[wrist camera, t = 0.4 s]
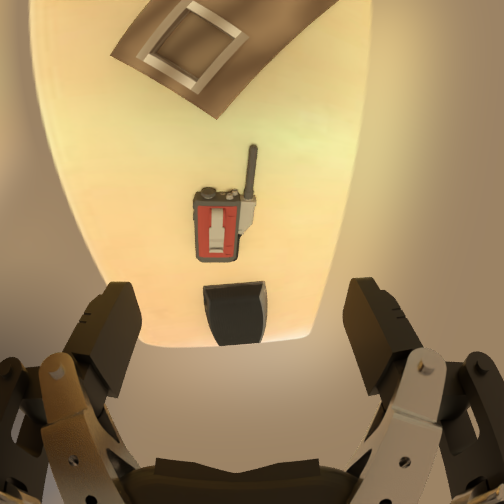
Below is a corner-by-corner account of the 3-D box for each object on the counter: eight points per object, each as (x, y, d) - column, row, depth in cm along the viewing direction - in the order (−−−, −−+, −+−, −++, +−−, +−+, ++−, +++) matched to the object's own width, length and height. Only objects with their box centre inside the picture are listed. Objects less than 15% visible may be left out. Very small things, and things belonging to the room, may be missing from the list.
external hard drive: (268, 278, 53) (271, 295, 50) (265, 331, 66) (267, 345, 63) (199, 283, 52) (199, 301, 49) (212, 335, 65) (212, 349, 62)
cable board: (113, 54, 23) (98, 57, 20) (233, -72, 13) (235, -86, 9) (216, 117, 31) (216, 127, 28) (335, 1, 21) (351, -4, 17)
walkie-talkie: (247, 254, 48) (261, 142, 34) (249, 273, 45) (266, 155, 31) (195, 254, 47) (193, 140, 33) (194, 273, 43) (190, 153, 30)
